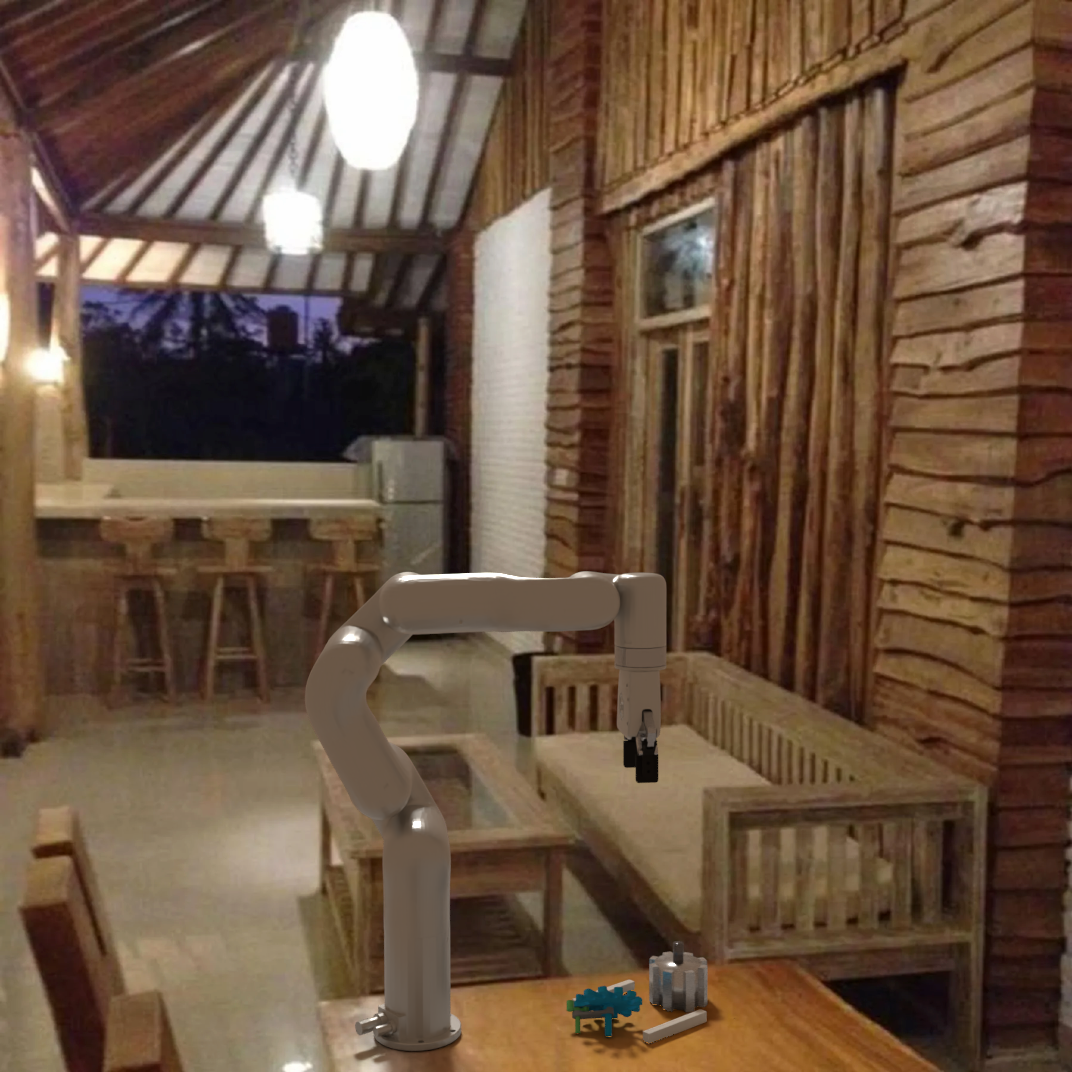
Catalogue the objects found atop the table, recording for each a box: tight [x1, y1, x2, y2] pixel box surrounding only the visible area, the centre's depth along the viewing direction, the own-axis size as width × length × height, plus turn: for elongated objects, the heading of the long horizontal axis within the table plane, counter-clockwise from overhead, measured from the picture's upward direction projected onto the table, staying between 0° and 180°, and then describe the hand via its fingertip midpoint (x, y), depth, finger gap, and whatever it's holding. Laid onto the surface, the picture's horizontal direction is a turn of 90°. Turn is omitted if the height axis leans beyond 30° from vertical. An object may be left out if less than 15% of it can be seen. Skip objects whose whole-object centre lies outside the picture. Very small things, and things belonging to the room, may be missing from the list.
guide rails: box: [571, 979, 708, 1044], centre depth 198 cm, size 12×16×2 cm
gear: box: [566, 985, 643, 1037], centre depth 192 cm, size 11×6×10 cm
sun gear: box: [648, 940, 709, 1013], centre depth 204 cm, size 9×9×9 cm
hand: (640, 774), depth 193 cm, fingers open, 9 cm apart
